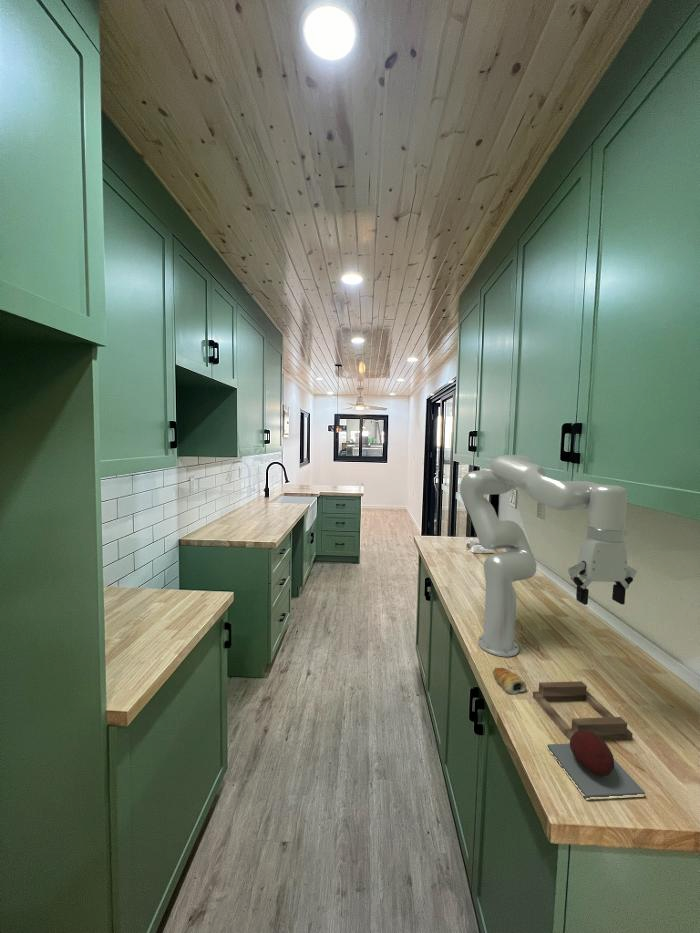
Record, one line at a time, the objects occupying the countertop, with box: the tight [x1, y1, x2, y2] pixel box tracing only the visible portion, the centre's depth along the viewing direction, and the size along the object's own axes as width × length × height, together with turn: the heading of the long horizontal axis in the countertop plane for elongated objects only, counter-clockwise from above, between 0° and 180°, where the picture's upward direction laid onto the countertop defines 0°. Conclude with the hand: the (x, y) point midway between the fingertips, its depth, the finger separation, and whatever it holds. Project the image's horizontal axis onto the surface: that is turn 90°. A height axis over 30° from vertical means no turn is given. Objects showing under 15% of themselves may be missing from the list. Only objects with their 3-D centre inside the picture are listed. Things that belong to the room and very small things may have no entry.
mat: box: [547, 742, 646, 798], centre depth 77 cm, size 12×12×1 cm
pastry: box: [492, 667, 527, 695], centre depth 105 cm, size 9×7×4 cm
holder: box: [532, 681, 634, 741], centre depth 93 cm, size 15×15×4 cm
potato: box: [569, 730, 615, 777], centre depth 77 cm, size 8×9×6 cm
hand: (600, 602), depth 93 cm, fingers open, 9 cm apart
